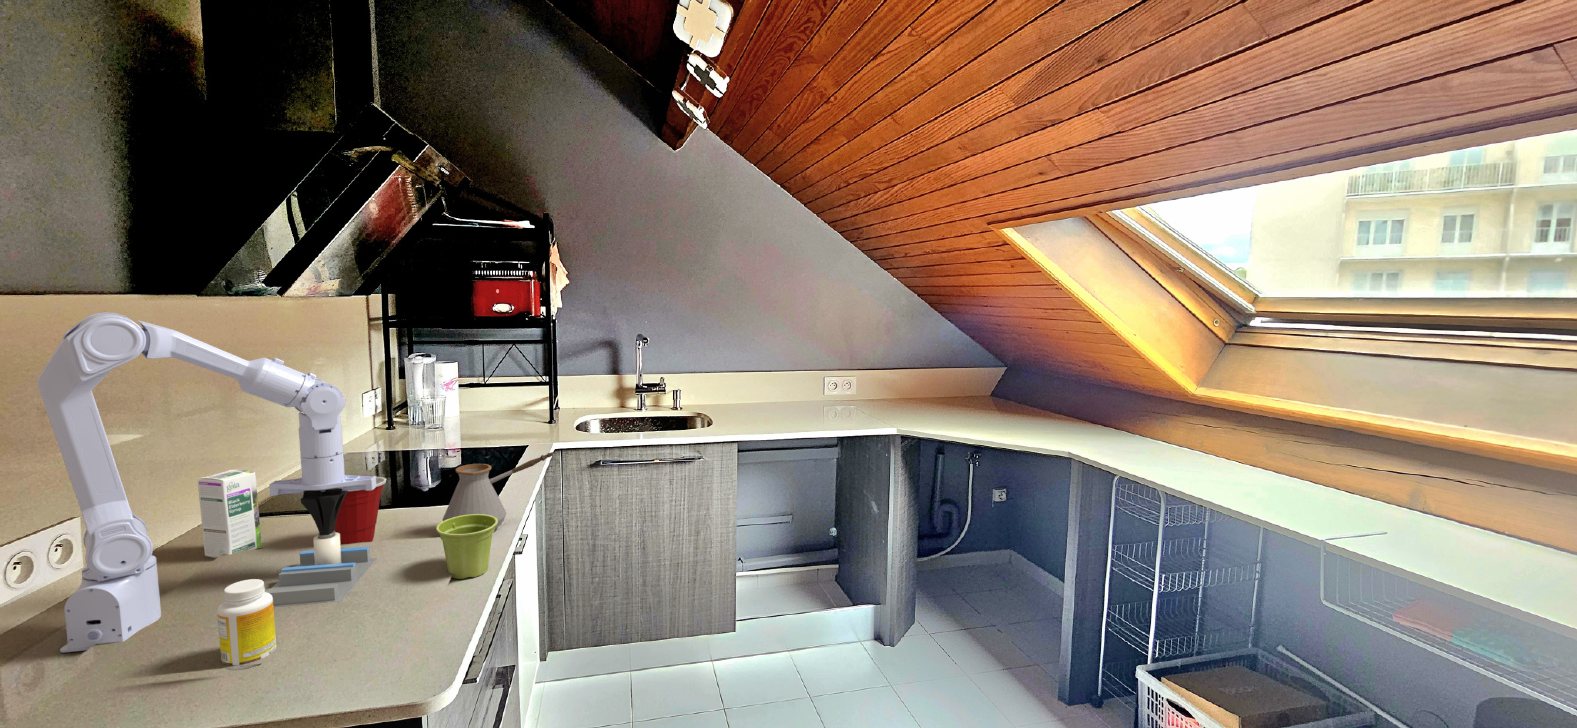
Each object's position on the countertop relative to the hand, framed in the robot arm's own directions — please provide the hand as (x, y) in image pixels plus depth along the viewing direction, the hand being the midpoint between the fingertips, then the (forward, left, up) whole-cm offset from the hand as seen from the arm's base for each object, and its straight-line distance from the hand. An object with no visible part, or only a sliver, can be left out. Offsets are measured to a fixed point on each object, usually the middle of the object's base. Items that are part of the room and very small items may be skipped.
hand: (327, 533), depth 108 cm
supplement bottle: (-25, 0, -8) cm, 26 cm away
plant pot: (-3, -22, -8) cm, 23 cm away
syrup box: (+14, +20, -8) cm, 26 cm away
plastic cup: (+15, +1, -8) cm, 17 cm away
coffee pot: (+18, -24, -8) cm, 31 cm away
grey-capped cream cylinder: (0, 0, -6) cm, 6 cm away
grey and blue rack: (-4, 0, -7) cm, 8 cm away
